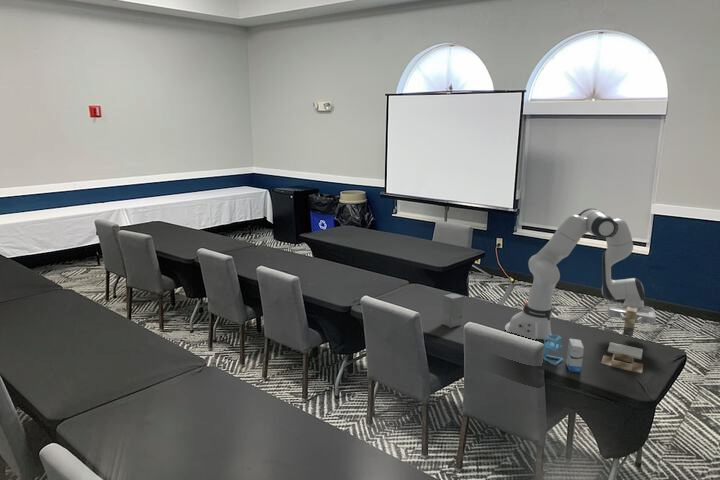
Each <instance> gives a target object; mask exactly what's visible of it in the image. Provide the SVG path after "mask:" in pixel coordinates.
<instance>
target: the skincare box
mask: <svg viewBox="0 0 720 480" xmlns="http://www.w3.org/2000/svg"><path fill="white" fill-rule="evenodd" d="M442 303H443V304H442V323H441V325H444V326H446V327H448V328H450V329H452V328H454V327H458V326H462V321H463V316H462V315H463V306H464V305H463V304H464V296H463V295H460V294H457V293H449V294H444V295H443V301H442Z"/></svg>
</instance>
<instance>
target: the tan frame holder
mask: <svg viewBox="0 0 720 480" xmlns="http://www.w3.org/2000/svg"><path fill="white" fill-rule="evenodd" d="M612 354H613V355H612V356H610V355H609V356H608V355H606V354H604V355H603V356H602V359H601V362H600V364H601V365H603V366H604V365H605V366H608V367H612V368H617V369H620V370H625V371H629V372H633V373H639V374H641V375H642V374H643V369H644V363H639V362H635V358H634V356H629V355H625V354H621V353H616V352H614V353H612Z"/></svg>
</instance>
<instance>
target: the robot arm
mask: <svg viewBox="0 0 720 480" xmlns="http://www.w3.org/2000/svg"><path fill="white" fill-rule="evenodd" d="M588 233H589V234H590V235H593V236H595V237H597V238H601V239H605V241H606V246H607V247H606V250H605V251H604V252H603V253H602V256H601V257H602V258H601V273H602V274H601V276H602V277H601V278H602V280H601V281H602V284H601V285H602V286H601V294H602V296H603V298H604V299H606V300H608V301H610V302H612V301H617V300H624V302H623V304H622V306H620V305H615V304H613V305H610V306H608V307H607V316H608V317H612V318H617V319H621V321H624V322H625V317H626V311H627V307H631V308H636V309H637V313H636V319H635V324H639V323H644V324H648V325H649V324H650V325H656V321H657V314H656V312H655V311H654V307H651V306H648V305H645V302H644V300H645V297H646V292H645V286H644V284H643V282H642V281H641V280H640V279H638V278H636V277H631V278H625V279H624V278H623V279H612V266H614V265H615V264H616V263H618V262H620V261H622V260H625V259H626V258H627V257H629V256H630V255H631V254H632V252H633V250H634V243H633V242H634V241H633V238H632V234H631V231H630V228H629V225H628V223H627V222H626V221H625V220H624V219H622V218H612V217H611V216H609V215H607V214H606V213H605V212H604V211H601V210H598V209H596V208H586V209H584V210H582V211H581V212H580V213H579V214H570V215H569V216H568V217H567V218H566V219H565V220H564V221H562V223H561V224H560V225H559V226H558V227H557V229H556V230H555V232H554V234H553V235H552V236H551V237H550V238H549V241H548V242H547V243H546V244H545V245H544V246H543V247H542V248H541V249H540V250H539V251H538V252H537V253H536V254H534V255H532V256H531V257H530V258H529V259H528V262H527V263H528V265H527V266H528V269H529V272H530V273H531V274H532V275H533V282H532V285H531V287H530V289H529V291H528V301H527V302H524V304H523V306H522V311H520V312H517V313H516V314H514V315H513V316H512V317H511V319H510V321H509V322H507V323H506V324H505V326H504V331H505V330H506V331H505V332H506V333H509V332H510V333H509V334H512V333H517V335H516V336H518V334H519V335H520V336H519V337H522V336H524V337H523V338H525V337H527V338H526V339H528V338H531V339H534V340H533V341H536V339H537V340H544V339H543V338H549V335H553V334H552V329H551V320H552V314H553V308H552V304H553V298H554V297H553V296H554V292H555V289H556V286H557V283H558V282H559V281H560V279H561V273H560V270H559V268H558V266H557V265H558V264H559V263H560V262H561V261H562V260H563V259H565V258H567V257H569V255H570V254H571V252H572V251H573V250H574V248H575V247H576V245H577V244H578V243H579V241H580V240H581V238H582V237H583V236H584V235H585V234H588ZM511 332H512V333H511ZM521 335H522V336H521ZM531 339H530V340H531Z"/></svg>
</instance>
